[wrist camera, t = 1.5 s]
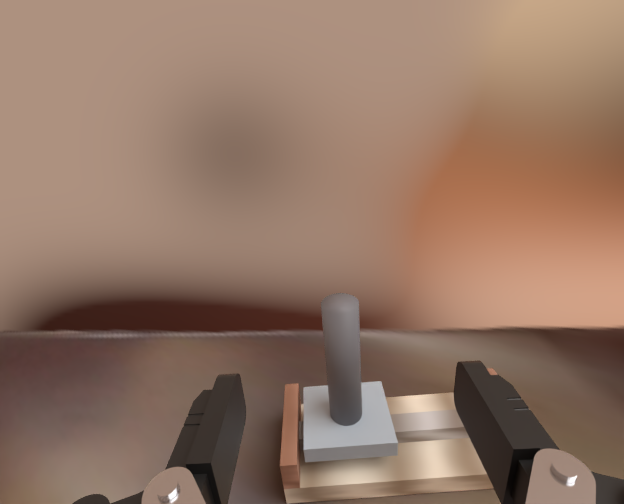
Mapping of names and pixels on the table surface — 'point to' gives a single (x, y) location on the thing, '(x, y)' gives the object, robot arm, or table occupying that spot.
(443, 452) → the rail bed
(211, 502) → the robot arm
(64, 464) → the table surface
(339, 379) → the carriage
